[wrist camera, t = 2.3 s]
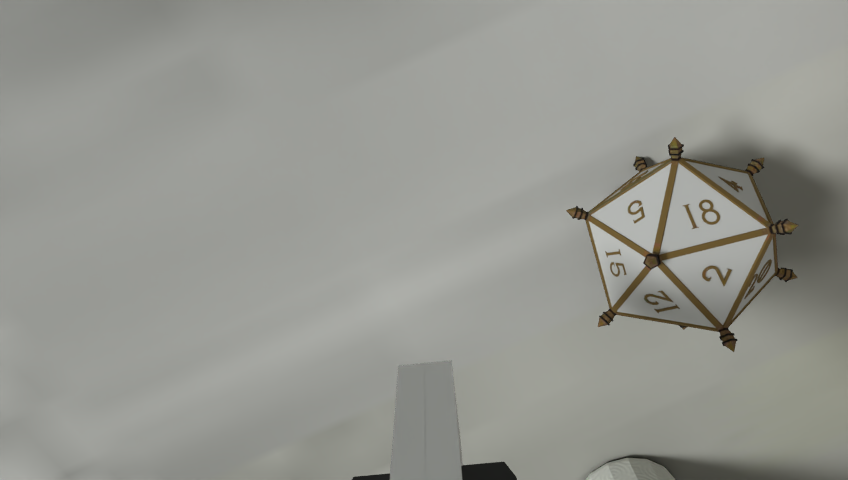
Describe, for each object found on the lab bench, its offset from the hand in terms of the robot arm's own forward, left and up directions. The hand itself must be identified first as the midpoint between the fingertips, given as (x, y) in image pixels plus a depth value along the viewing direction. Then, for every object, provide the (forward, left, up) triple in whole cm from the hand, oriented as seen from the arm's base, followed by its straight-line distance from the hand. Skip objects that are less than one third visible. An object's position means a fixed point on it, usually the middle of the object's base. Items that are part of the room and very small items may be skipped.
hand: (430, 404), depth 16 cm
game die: (0, +11, -13) cm, 17 cm away
